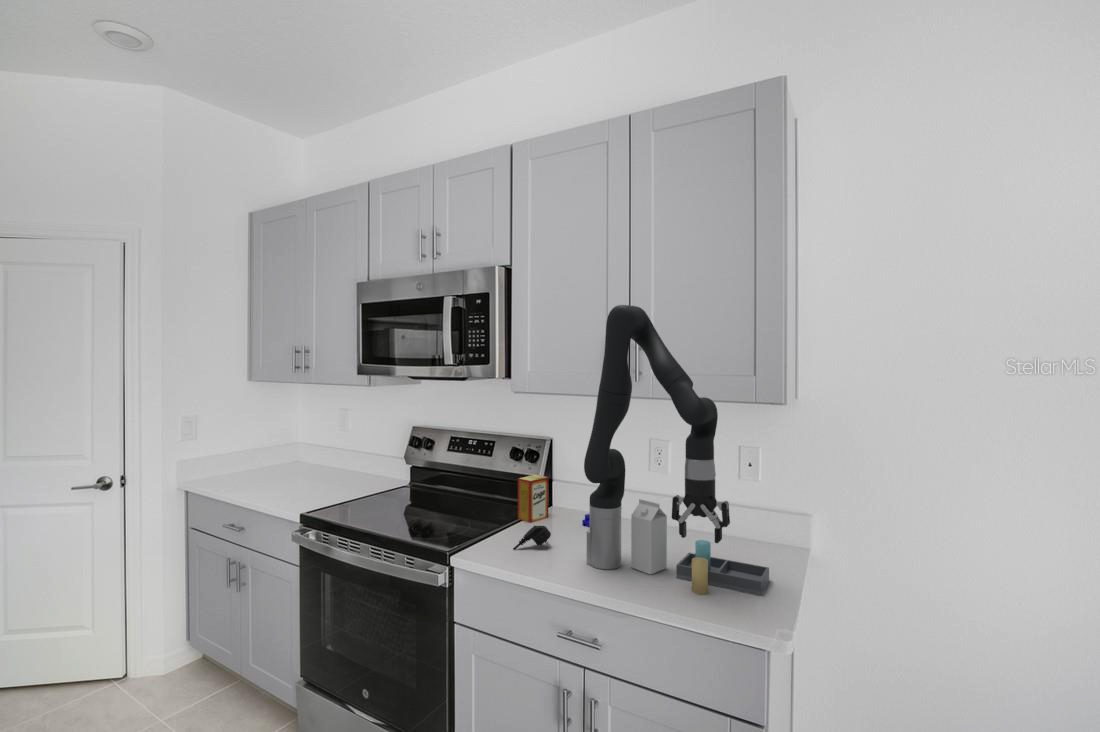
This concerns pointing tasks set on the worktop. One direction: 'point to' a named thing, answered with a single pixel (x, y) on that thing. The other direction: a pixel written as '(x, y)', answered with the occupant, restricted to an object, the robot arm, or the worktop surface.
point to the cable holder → (586, 521)
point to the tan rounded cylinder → (699, 575)
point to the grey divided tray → (729, 574)
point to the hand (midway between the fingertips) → (700, 539)
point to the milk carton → (648, 538)
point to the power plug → (536, 536)
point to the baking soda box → (532, 498)
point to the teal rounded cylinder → (703, 550)
